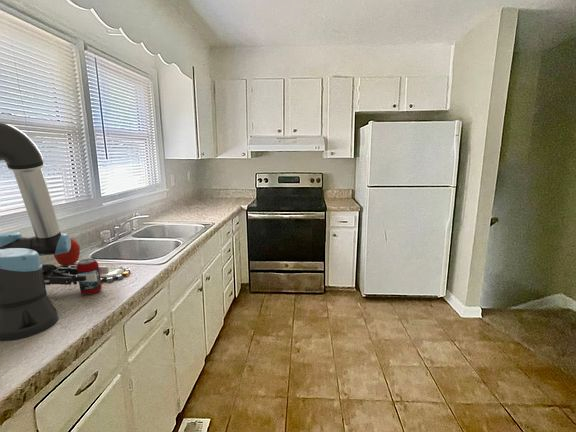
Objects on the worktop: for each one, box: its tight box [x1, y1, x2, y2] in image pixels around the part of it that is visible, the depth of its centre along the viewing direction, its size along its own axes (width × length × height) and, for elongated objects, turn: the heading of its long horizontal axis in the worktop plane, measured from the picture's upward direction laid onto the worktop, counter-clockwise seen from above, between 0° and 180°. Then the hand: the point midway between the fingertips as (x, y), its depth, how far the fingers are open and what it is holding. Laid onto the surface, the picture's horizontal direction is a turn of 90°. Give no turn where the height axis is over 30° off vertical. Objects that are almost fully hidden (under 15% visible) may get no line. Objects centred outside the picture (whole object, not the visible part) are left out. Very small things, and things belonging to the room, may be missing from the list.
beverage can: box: [76, 258, 102, 295], centre depth 117 cm, size 7×7×12 cm
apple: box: [53, 238, 81, 267], centre depth 147 cm, size 10×10×14 cm
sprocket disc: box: [100, 266, 131, 284], centre depth 133 cm, size 15×15×2 cm
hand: (102, 273), depth 116 cm, fingers closed on beverage can, 7 cm apart
